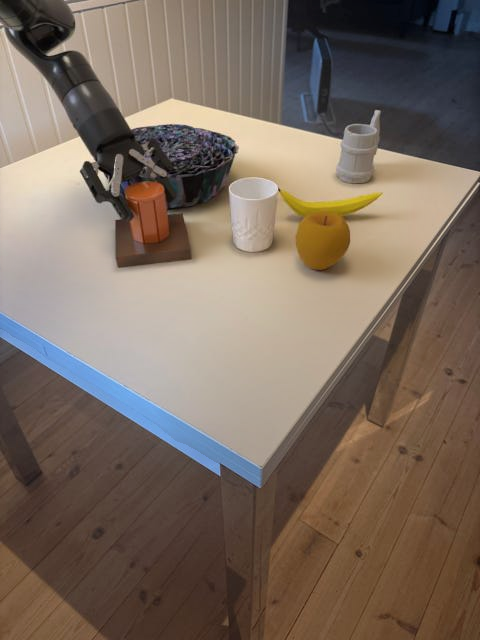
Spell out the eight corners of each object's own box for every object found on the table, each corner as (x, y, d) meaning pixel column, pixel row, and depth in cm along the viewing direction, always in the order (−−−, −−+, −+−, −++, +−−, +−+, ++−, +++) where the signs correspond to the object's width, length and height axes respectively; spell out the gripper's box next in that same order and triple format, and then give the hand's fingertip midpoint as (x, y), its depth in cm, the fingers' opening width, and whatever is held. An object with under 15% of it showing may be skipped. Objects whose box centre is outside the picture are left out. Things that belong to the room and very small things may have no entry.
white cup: (280, 233, 86) (282, 180, 79) (270, 257, 80) (272, 202, 74) (237, 227, 88) (236, 174, 81) (224, 250, 82) (222, 196, 75)
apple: (334, 287, 74) (342, 237, 68) (284, 271, 77) (287, 222, 72) (353, 259, 80) (361, 210, 74) (305, 245, 83) (310, 198, 77)
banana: (379, 221, 89) (386, 189, 85) (275, 223, 89) (277, 191, 84) (375, 213, 91) (382, 181, 87) (274, 215, 91) (275, 184, 86)
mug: (328, 177, 103) (335, 119, 95) (357, 159, 109) (366, 103, 101) (360, 187, 99) (370, 128, 91) (388, 168, 106) (399, 111, 98)
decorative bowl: (144, 161, 114) (135, 117, 107) (256, 169, 105) (254, 121, 99) (83, 213, 95) (67, 164, 89) (212, 227, 87) (205, 174, 81)
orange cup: (133, 245, 80) (125, 200, 74) (131, 226, 84) (124, 182, 79) (170, 241, 81) (165, 196, 75) (167, 222, 85) (162, 179, 80)
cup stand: (117, 267, 79) (108, 223, 73) (117, 229, 87) (108, 188, 82) (191, 258, 80) (187, 215, 75) (183, 222, 89) (179, 181, 84)
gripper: (62, 118, 70) (123, 217, 72) (141, 96, 78) (195, 185, 79) (53, 145, 76) (109, 235, 78) (127, 121, 84) (176, 204, 85)
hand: (152, 210), depth 79 cm, fingers open, 8 cm apart
